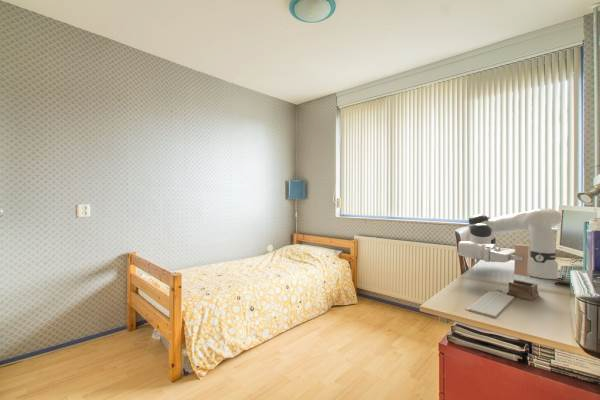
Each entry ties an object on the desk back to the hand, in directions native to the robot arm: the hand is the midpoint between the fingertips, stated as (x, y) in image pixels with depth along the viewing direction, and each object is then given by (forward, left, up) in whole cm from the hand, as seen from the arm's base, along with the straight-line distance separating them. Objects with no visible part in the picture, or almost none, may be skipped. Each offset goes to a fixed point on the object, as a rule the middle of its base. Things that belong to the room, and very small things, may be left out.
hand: (524, 257), depth 138 cm
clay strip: (0, -1, -8) cm, 8 cm away
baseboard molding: (+24, -6, -19) cm, 31 cm away
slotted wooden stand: (0, 0, -18) cm, 18 cm away
